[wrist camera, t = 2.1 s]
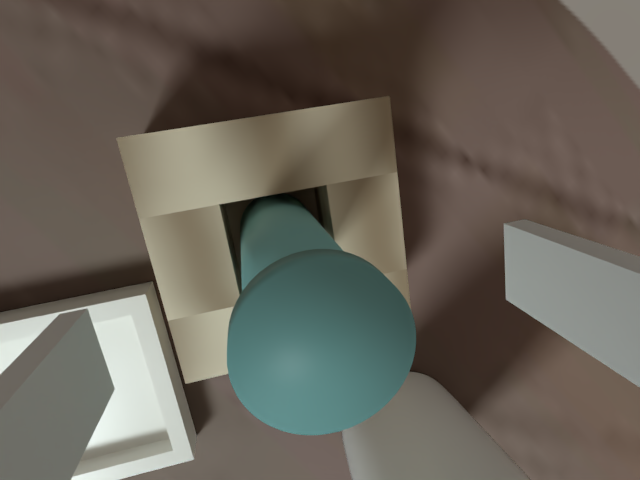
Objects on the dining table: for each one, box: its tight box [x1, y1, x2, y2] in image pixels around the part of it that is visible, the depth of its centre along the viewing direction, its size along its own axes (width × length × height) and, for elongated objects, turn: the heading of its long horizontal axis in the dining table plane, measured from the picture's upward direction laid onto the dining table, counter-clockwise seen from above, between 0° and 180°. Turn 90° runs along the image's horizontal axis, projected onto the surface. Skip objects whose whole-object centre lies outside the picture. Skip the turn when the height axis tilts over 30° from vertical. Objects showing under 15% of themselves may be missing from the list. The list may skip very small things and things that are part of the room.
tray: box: [0, 281, 197, 480], centre depth 24 cm, size 11×11×2 cm
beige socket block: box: [116, 96, 411, 384], centre depth 22 cm, size 12×12×5 cm
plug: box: [227, 193, 416, 435], centre depth 17 cm, size 5×5×14 cm
